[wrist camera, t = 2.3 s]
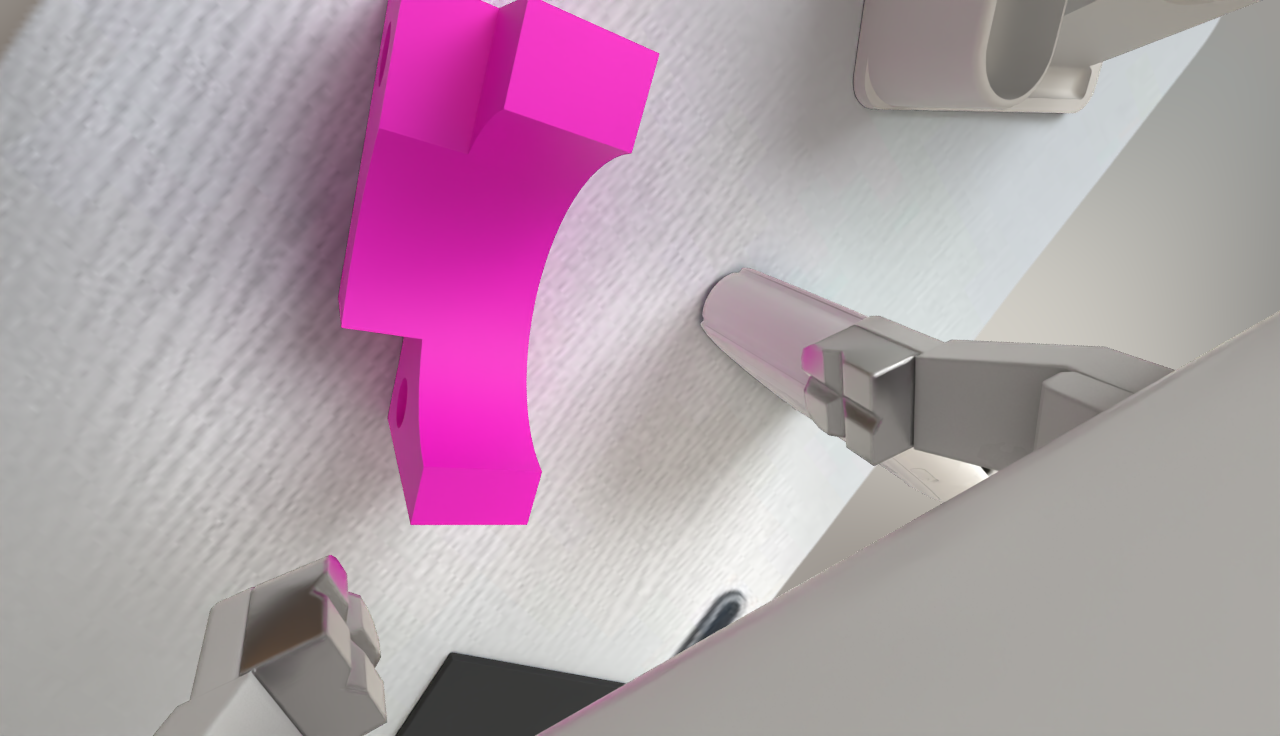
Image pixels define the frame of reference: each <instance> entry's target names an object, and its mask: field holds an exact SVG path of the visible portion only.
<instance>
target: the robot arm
mask: <svg viewBox="0 0 1280 736" xmlns="http://www.w3.org/2000/svg"><path fill="white" fill-rule="evenodd" d="M801 366H802V370H803V371H804V372H805V373H806V374H807V375H808V376H809V379H808V381H807V384H806V386H805V388H804V390H803V391H804V398H805V406H806V408H807V410H808V412H809V415H810V417H811V419H812V420H813V421H814V423H815V424H816V425H817V426H818V427H819V428H820V429H821V430H822V431H824V432H825V433H827V434H828V435H831V436H837V437H843V438H845V442H846V447H847V448H848V449H850V450H851V451H853V452H854V453H855V454H857V455H858V456H860V457H861V458H863V459H864V460H866V461H867V462H869V463H870V464H872V465H873V466H875V465H877V464H880V463H882V462H884V461H886V460H888V459H890V458H892V457H894V456H896V455H898V454H900V453H902V452H904V451H906V450H908V449H910V448H912V447H914V450H918V451H922V452H926V453H930V454H934V455H938V456H942V457H945V458H949V459H953V460H957V461H961V462H965V463H969V464H973V465H977V466H980V467H984V468H988V469H992V470H996V471H998V472H997V473H995V474H993V475H991V476H990V477H988V478H986V479H984V480H983V481H981V482H979V483H977V484H976V485H974V486H972V487H970V488H969V489H967V490H965V491H963V492H962V493H960V494H958V495H956V496H955V497H953V498H951V499H949V500H948V501H946V502H944V503H942V504H941V505H939V506H937V507H935V508H934V509H932V510H930V511H928V512H926V513H925V514H923V515H921V516H920V517H918V518H916V519H914V520H912V521H911V522H909V523H907V524H905V525H904V526H902V527H900V528H898V529H897V530H895V531H893V532H891V533H889V534H888V535H886V536H884V537H882V538H881V539H879V540H877V541H875V542H874V543H872V544H870V545H868V546H867V547H865V548H863V549H861V550H859V551H858V552H856V553H854V554H852V555H851V556H849V557H847V558H845V559H844V560H842V561H840V562H838V563H837V564H835V565H833V566H831V567H829V568H828V569H826V570H824V571H822V572H821V573H819V574H817V575H816V576H814V577H812V578H811V579H808V580H807V581H805V582H803V583H802V584H800V585H798V586H796V587H794V588H793V589H791V590H789V591H787V592H786V593H784V594H782V595H780V596H779V597H777V598H775V599H773V600H772V601H770V602H768V603H766V604H765V605H763V606H761V607H759V608H758V609H756V610H754V611H752V612H751V613H749V614H747V615H745V616H744V617H742V618H740V619H738V620H737V621H735V622H733V623H731V624H730V625H728V626H726V627H724V628H723V629H721V630H719V631H717V632H716V633H714V634H712V635H710V636H709V637H707V638H705V639H703V640H702V641H700V642H698V643H696V644H695V645H693V646H691V647H689V648H688V649H686V650H684V651H682V652H681V653H679V654H677V655H675V656H674V657H672V658H670V659H668V660H667V661H665V662H663V663H661V664H660V665H658V666H656V667H654V668H653V669H651V670H649V671H647V672H646V673H644V674H642V675H640V676H639V677H637V678H635V679H633V680H632V681H630V682H628V683H626V684H625V685H623V686H621V687H619V688H618V689H616V690H614V691H612V692H611V693H609V694H607V695H605V696H604V697H602V698H600V699H598V700H597V701H595V702H593V703H591V704H590V705H588V706H586V707H584V708H583V709H581V710H579V711H577V712H576V713H574V714H572V715H570V716H569V717H567V718H565V719H563V720H562V721H560V722H558V723H556V724H555V725H553V726H551V727H549V728H548V729H546V730H544V731H542V732H541V733H539V734H537V735H535V736H1280V311H1278V312H1277V313H1275V314H1273V315H1271V316H1270V317H1268V318H1266V319H1264V320H1263V321H1261V322H1259V323H1257V324H1256V325H1254V326H1252V327H1251V328H1249V329H1247V330H1245V331H1243V332H1242V333H1240V334H1238V335H1236V336H1235V337H1233V338H1231V339H1229V340H1228V341H1226V342H1224V343H1222V344H1221V345H1219V346H1217V347H1215V348H1214V349H1212V350H1210V351H1208V352H1207V353H1205V354H1203V355H1202V356H1200V357H1198V358H1196V359H1194V360H1193V361H1191V362H1189V363H1187V364H1186V365H1184V366H1182V367H1180V368H1179V369H1177V370H1173V369H1170V368H1167V367H1164V366H1161V365H1158V364H1155V363H1152V362H1149V361H1146V360H1143V359H1140V358H1137V357H1134V356H1131V355H1128V354H1125V353H1122V352H1120V351H1117V350H1114V349H1110V348H1108V347H1100V346H1099V347H1098V346H1078V345H1077V346H1076V345H1056V344H1035V343H1014V342H992V341H990V342H989V341H971V340H950V341H948V342H942V341H940V340H937V339H935V338H933V337H930V336H928V335H925V334H923V333H920V332H918V331H915V330H913V329H910V328H908V327H906V326H903V325H901V324H898V323H896V322H893V321H891V320H888V319H886V318H883V317H881V316H870V317H867V318H865V319H863V320H861V321H859V322H857V323H855V324H853V325H851V326H849V327H848V328H846V329H844V330H842V331H839V332H837V333H835V334H833V335H831V336H828V337H826V338H824V339H822V340H820V341H817V342H815V343H813V344H811V345H809V346H807V347H804V348H803V351H802V355H801ZM380 658H381V651H380V643H379V638H378V635H377V631H376V628H375V624H374V621H373V619H372V617H371V614H370V612H369V610H368V608H367V606H366V604H365V603H364V601H363V599H362V598H361V596H360V595H357V594H354V593H351V592H348V581H347V573H346V572H345V570H344V569H343V567H342V566H341V564H340V563H339V561H338V560H337V558H335V557H333V556H332V555H328V556H326V557H324V558H321V559H319V560H316V561H314V562H312V563H309V564H307V565H304V566H302V567H300V568H297V569H295V570H292V571H290V572H288V573H285V574H283V575H280V576H278V577H276V578H273V579H271V580H268V581H266V582H264V583H261V584H259V585H257V586H256V587H251V588H249V589H247V590H245V591H242V592H240V593H238V594H236V595H233V596H231V597H229V598H226V599H224V600H222V601H220V602H217V603H216V604H215V605H214V606H213V607H212V608H211V610H210V613H209V617H208V622H207V626H206V630H205V635H204V639H203V644H202V648H201V652H200V657H199V661H198V666H197V670H196V675H195V679H194V683H193V688H192V692H191V697H190V701H188V702H186V703H183V704H181V705H179V706H177V707H176V708H175V709H174V711H173V712H172V713H171V714H170V715H169V717H168V718H167V719H166V720H165V722H164V723H163V724H162V725H161V726H160V728H159V729H158V730H157V731H156V733H155V734H154V735H153V736H363V735H365V734H367V733H369V732H371V731H372V730H374V729H376V728H378V727H379V726H381V725H383V724H385V723H387V714H386V703H385V692H384V682H383V680H382V679H381V677H380V676H379V674H378V672H377V671H376V669H375V667H376V665H377V663H378V662H379V660H380Z"/></svg>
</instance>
